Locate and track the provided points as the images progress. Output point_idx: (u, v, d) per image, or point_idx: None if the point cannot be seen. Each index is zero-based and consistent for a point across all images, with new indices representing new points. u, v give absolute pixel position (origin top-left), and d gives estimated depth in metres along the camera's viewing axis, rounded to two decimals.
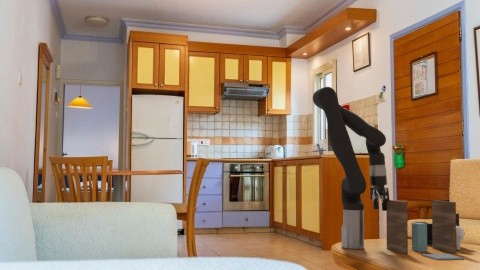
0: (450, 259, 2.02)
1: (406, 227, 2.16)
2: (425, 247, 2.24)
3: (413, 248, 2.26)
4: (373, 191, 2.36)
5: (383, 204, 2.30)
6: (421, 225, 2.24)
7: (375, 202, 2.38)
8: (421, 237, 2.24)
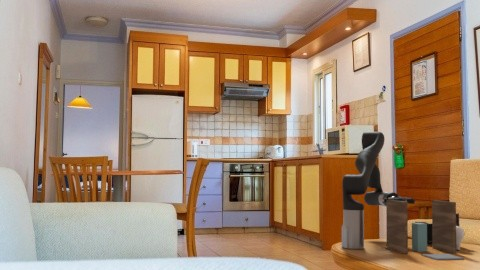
0: (450, 259, 2.02)
1: (406, 227, 2.16)
2: (425, 247, 2.24)
3: (413, 248, 2.26)
4: (393, 196, 2.47)
5: None
6: (421, 225, 2.24)
7: None
8: (421, 237, 2.24)
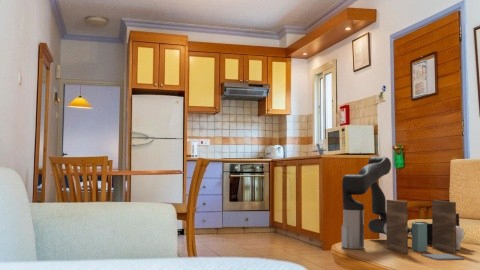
0: (450, 259, 2.02)
1: (406, 227, 2.16)
2: (425, 247, 2.24)
3: (413, 248, 2.26)
4: None
5: None
6: (421, 225, 2.24)
7: None
8: (421, 237, 2.24)
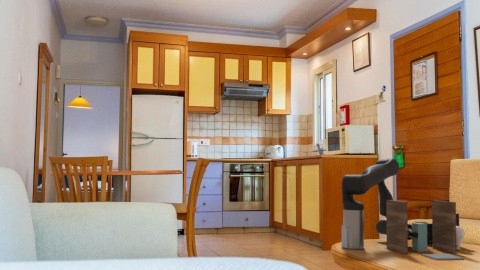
0: (450, 259, 2.02)
1: (406, 227, 2.16)
2: (425, 247, 2.24)
3: (413, 248, 2.26)
4: (408, 228, 2.32)
5: None
6: (421, 225, 2.24)
7: None
8: (421, 237, 2.24)
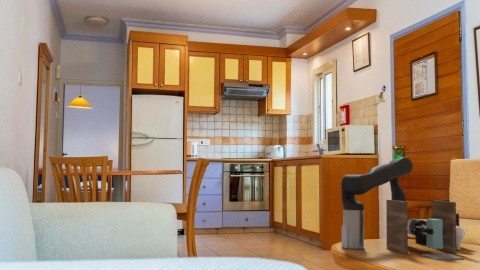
0: (450, 259, 2.02)
1: (406, 227, 2.16)
2: (441, 244, 2.12)
3: (428, 245, 2.15)
4: (422, 224, 2.21)
5: None
6: (436, 221, 2.13)
7: None
8: (436, 233, 2.12)
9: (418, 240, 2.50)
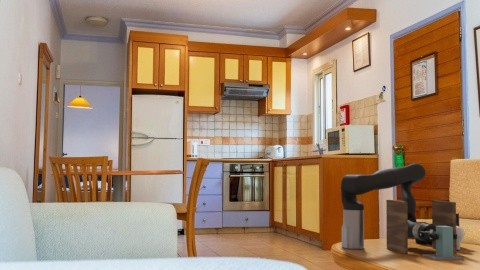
0: (450, 259, 2.02)
1: (406, 227, 2.16)
2: (451, 252, 2.05)
3: (437, 253, 2.08)
4: (431, 229, 2.14)
5: None
6: (446, 228, 2.05)
7: None
8: (446, 241, 2.05)
9: (418, 240, 2.50)
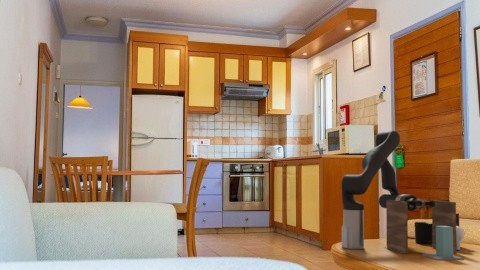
0: (450, 259, 2.02)
1: (406, 227, 2.16)
2: (451, 252, 2.05)
3: (437, 253, 2.08)
4: None
5: None
6: (446, 228, 2.05)
7: None
8: (446, 241, 2.05)
9: (418, 240, 2.50)
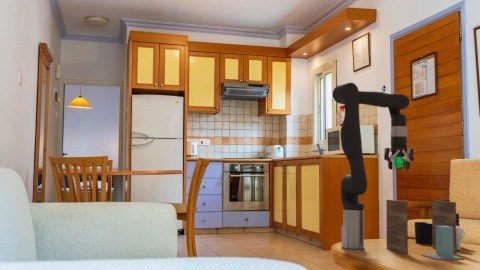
0: (450, 259, 2.02)
1: (406, 227, 2.16)
2: (451, 252, 2.05)
3: (437, 253, 2.08)
4: (397, 151, 2.42)
5: (409, 163, 2.44)
6: (446, 228, 2.05)
7: None
8: (446, 241, 2.05)
9: (418, 240, 2.50)
